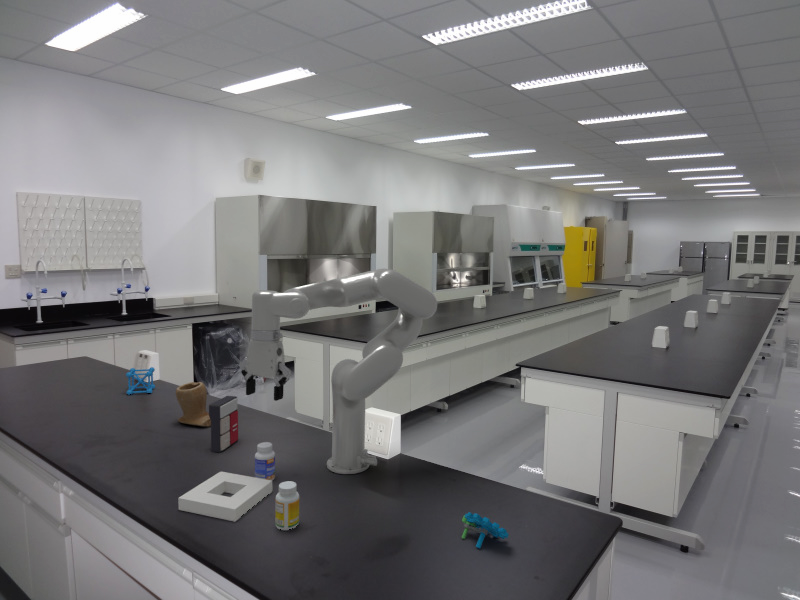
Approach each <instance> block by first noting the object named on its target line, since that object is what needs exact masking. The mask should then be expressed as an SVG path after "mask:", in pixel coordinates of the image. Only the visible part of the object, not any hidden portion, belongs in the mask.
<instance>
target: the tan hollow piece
mask: <svg viewBox="0 0 800 600" xmlns="http://www.w3.org/2000/svg"><path fill="white" fill-rule="evenodd" d="M207 393H208V392H207V388H206V385H205V384H204V383H203V382H202V381H198V382H194V381H193V382H187V383H183V384H181V385H179V386H178V387H176V389H175V396H176V400H177V402H178V404H179V407H180V408H181V410H182V416H180V417H179V418H178V419H177V421H178V423H181V424H185V425H191V426H199V427H211V419H210V417H209V412H207V409H206V408H207V400H208V399H207V398H208V396H207V395H208V394H207Z"/></svg>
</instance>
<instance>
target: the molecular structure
mask: <svg viewBox="0 0 800 600" xmlns="http://www.w3.org/2000/svg"><path fill="white" fill-rule="evenodd" d="M155 370H156V369H155V367H152V366H151V367H149V368H148V369H147V368H146V369H144V368H143V369H136V368H134V367H132V368H130V369H129V371H128V372H126V374H125V376H126V377H127V378H128V379H127V380H128V390H127V391H126V395H127V394H128V396H131V395H133V394H138V393H139V394H142V393H144V394H145V393H146V394H147V393H151V394H153V390H155V388H156V385H155V384H154V372H155ZM136 372H141V373H136ZM143 372H144V373H143ZM145 372H146V373H145ZM139 376H143V377H142V378H141V377H139ZM145 379H147V382H146V381H145ZM135 380H136V381H137V383H136V384H135ZM139 385H142V386H139ZM136 389H146V390H136ZM135 390H136V391H135ZM130 394H131V395H130Z"/></svg>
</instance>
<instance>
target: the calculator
mask: <svg viewBox="0 0 800 600" xmlns="http://www.w3.org/2000/svg"><path fill="white" fill-rule="evenodd" d="M208 413H209V417H210V419H211V426H210V446H211V448H210V451H211V452H212V453H221V452H223V451H224V450H226V449H227V448H228V447H230V446H231V445H233V444H235V443H236V442H237V441H238V440H239V410H238V396H234V395H226V396H224V397H222V398H219V399H218V400H216V401H214V402H211V403H210V404H209V405H208Z"/></svg>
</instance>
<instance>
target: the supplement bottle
mask: <svg viewBox="0 0 800 600" xmlns="http://www.w3.org/2000/svg"><path fill="white" fill-rule="evenodd" d="M297 488H298V487H297V483H296V481H295V482H294V481H291V480H290V481H288V480H287V481H282V482H280V483H279V484H278V492H277V494H276V495H275V508H274V509H275V512H274V513H275V516H274V517H275V519H274V520H275V521H274V523H275V528H276V529H278V530H280V529H281V531H290V530H289V529H291V530H293V529H296V528H297V527H298V526H297V525H299V524H300V494H299V492H298V491H297ZM296 526H297V527H296ZM292 528H293V529H292Z"/></svg>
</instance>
